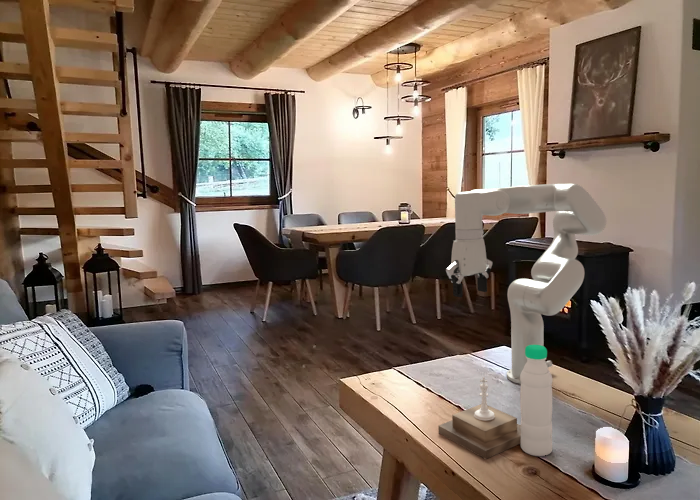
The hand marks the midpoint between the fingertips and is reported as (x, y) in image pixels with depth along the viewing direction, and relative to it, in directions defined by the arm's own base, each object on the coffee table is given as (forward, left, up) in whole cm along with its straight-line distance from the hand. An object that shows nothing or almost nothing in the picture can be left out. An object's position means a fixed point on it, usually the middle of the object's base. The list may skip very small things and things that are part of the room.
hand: (470, 293), depth 154 cm
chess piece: (+16, +20, -26) cm, 36 cm away
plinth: (+16, +20, -30) cm, 40 cm away
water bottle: (+12, +32, -31) cm, 46 cm away
